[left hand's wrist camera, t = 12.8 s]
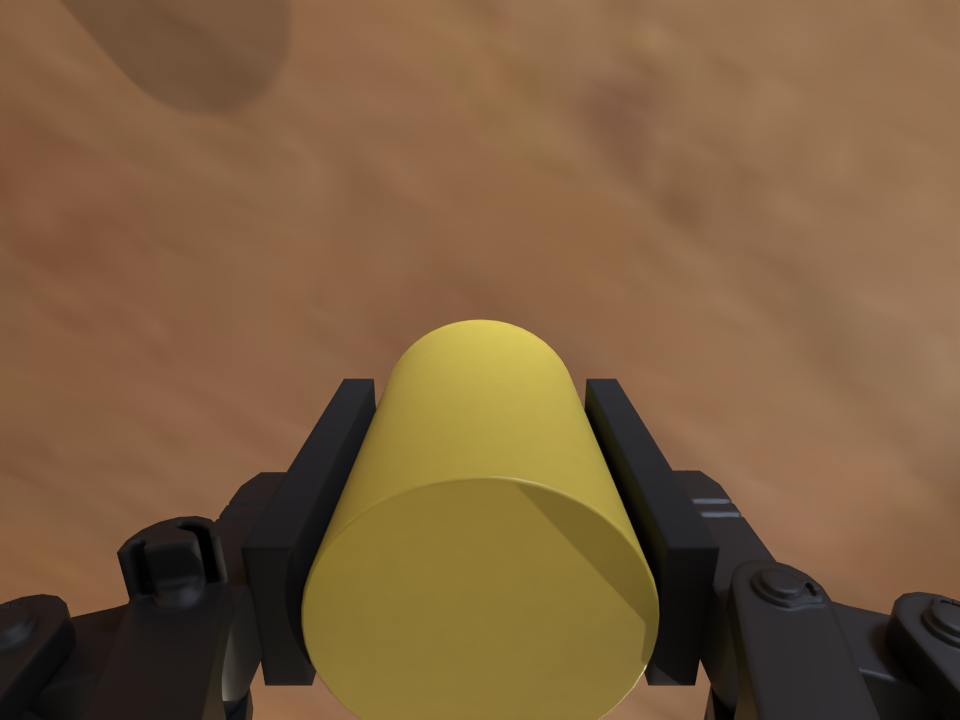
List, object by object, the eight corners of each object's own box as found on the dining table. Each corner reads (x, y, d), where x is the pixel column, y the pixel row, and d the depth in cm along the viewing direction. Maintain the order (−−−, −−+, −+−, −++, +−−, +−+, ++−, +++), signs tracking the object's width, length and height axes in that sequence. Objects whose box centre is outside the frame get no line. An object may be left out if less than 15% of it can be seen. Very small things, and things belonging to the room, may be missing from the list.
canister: (347, 375, 15) (225, 573, 8) (522, 283, 14) (566, 412, 7) (443, 520, 17) (416, 795, 10) (607, 446, 16) (712, 686, 9)
